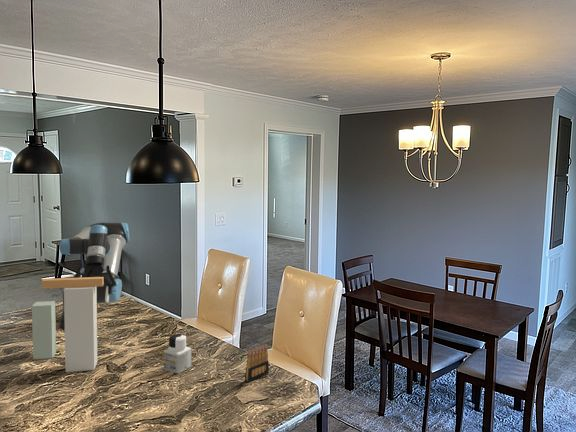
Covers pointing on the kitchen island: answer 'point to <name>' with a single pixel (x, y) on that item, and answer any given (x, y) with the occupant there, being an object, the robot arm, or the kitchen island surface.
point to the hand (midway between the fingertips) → (90, 302)
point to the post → (80, 328)
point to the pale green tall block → (44, 330)
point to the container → (177, 354)
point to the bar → (72, 282)
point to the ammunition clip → (257, 363)
